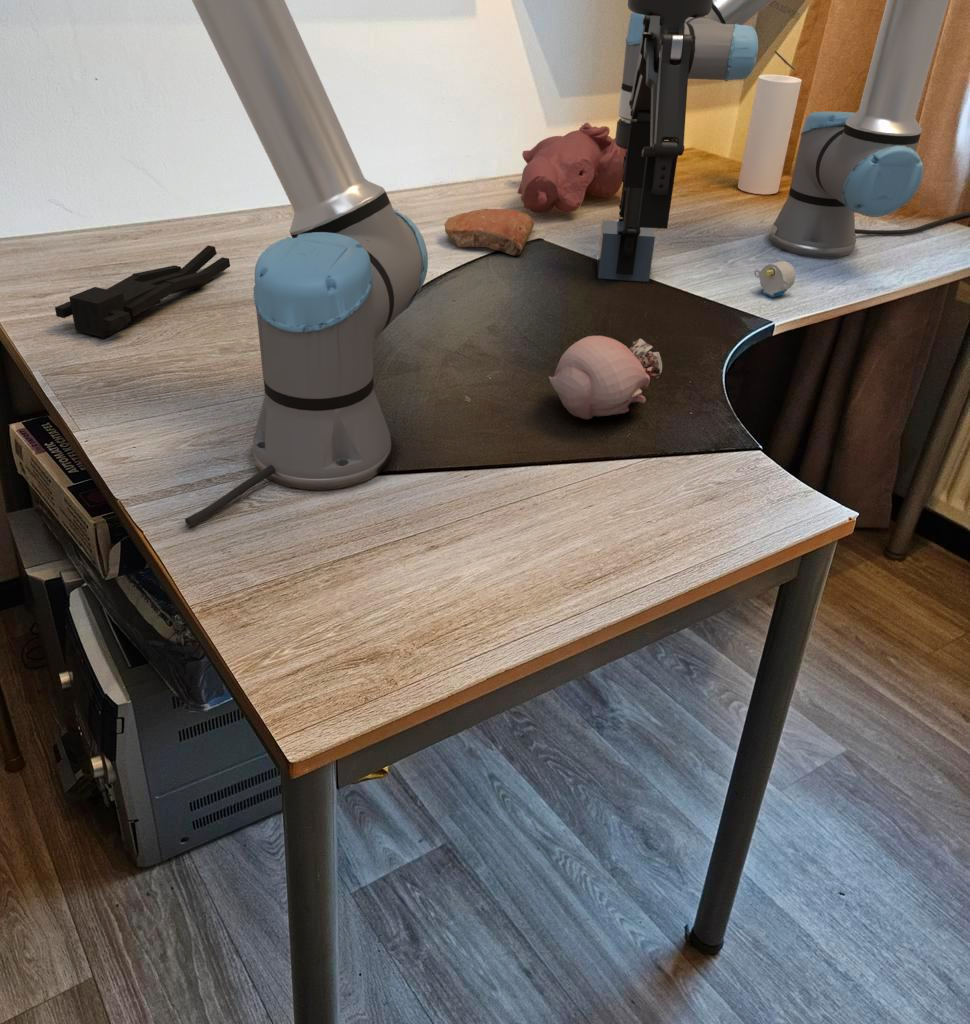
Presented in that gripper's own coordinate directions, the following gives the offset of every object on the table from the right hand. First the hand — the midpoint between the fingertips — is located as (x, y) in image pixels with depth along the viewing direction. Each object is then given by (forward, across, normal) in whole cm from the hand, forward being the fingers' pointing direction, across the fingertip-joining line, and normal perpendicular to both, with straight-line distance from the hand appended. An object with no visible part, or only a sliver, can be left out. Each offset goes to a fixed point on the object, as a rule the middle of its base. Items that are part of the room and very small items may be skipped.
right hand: (623, 265), depth 160 cm
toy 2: (+1, -50, +5) cm, 50 cm away
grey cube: (+1, 0, 0) cm, 1 cm away
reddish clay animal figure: (+1, +37, +8) cm, 38 cm away
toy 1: (+1, -26, +70) cm, 74 cm away
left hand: (-27, -59, +4) cm, 65 cm away
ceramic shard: (+1, +12, +24) cm, 26 cm away
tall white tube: (+1, +58, -31) cm, 65 cm away
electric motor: (+1, -6, -24) cm, 24 cm away
